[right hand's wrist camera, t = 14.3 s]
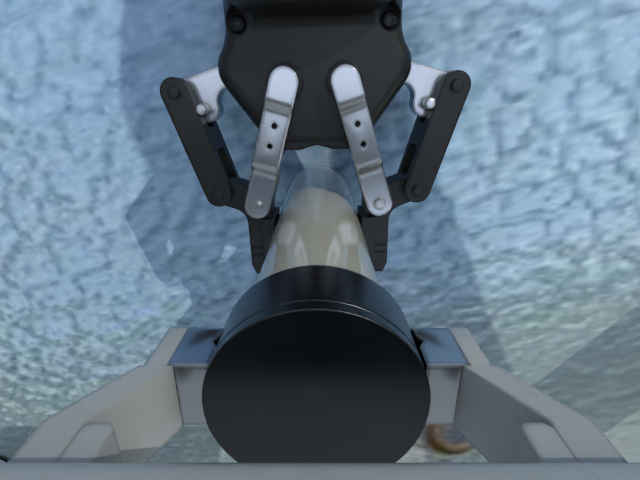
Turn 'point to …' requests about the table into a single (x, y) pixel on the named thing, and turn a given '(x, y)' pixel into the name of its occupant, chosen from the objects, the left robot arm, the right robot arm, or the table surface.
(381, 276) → the table surface
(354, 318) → the lid
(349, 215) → the grey cylinder
